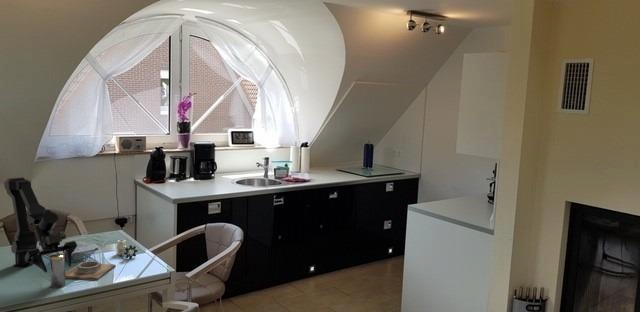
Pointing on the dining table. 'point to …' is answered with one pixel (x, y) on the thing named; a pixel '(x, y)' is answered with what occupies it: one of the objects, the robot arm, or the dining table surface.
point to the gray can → (57, 270)
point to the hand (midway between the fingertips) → (58, 269)
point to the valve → (125, 249)
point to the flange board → (89, 276)
